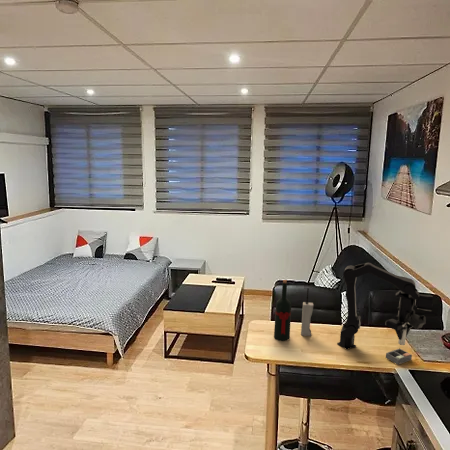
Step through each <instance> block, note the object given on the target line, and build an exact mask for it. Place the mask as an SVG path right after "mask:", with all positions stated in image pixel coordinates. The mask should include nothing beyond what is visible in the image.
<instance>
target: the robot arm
mask: <svg viewBox="0 0 450 450" xmlns="http://www.w3.org/2000/svg"><path fill="white" fill-rule="evenodd" d="M366 274H370V275H373V276H375V277H377V278H379V279H380V280H383V281H385V282H387V283H390V284H392V285H393V286H394V287H396V288H397V289H398V291H397V292H395V297H398V298H399V303H398V307H396V311H398V312H397V315H395V318H390V319H386V320H385V326H386V327H388V328H389V329H392V330H394V331H395V333H396V335H397V338H398V340H399V339H400V340H401V339H402V335H403V331H404V330H405V329H407V331H406V338H407V336H408V334H409V333H410V330H411V329H412V328H413V329H414V330H418V329H422V328H423V326H424V325H426V324H427V323H426V321H427V317H426V316H425V315H419V314H416V310H415V309H414V306H415V307H416V309H417V310H420V311H421V310H422V311H427V312H433V307H434V304H433V299H434V296H433V295H432V294H431V295H430V294H428V295H427V294H420V292H419V290H418V289H417V287H416V282H415V281H414V279H412V278H409V277H405V276H400V275H397V274H395V273H392V272H390V271H387V270H385V269H383V268H381V267H379V266H377V265H374V264H373V263H371V262H365V263H361V264H356V265H347V266H346V267H345V269H344V271H343V280H344V283H345V286H346V298H347V300H346V301H347V306H346V307H347V317H346V323H344V324H343V325H342V327H341V330H340V335H339V336H340V337H339V341H338V342H337V343H336V344H337V345H338V346H340V347H342V348H344V349H345V350H350V349H354V348H356V347H357V345H356V344H355V337H356V336H355V335H356V334H357V333H358V332H359V330H360V329H361V325H362V323H361V315H358V314H357V297H356V296H357V295H356V282H357V278H358V277H361V276H364V275H366ZM404 325H407V328H405V327H404Z"/></svg>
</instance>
